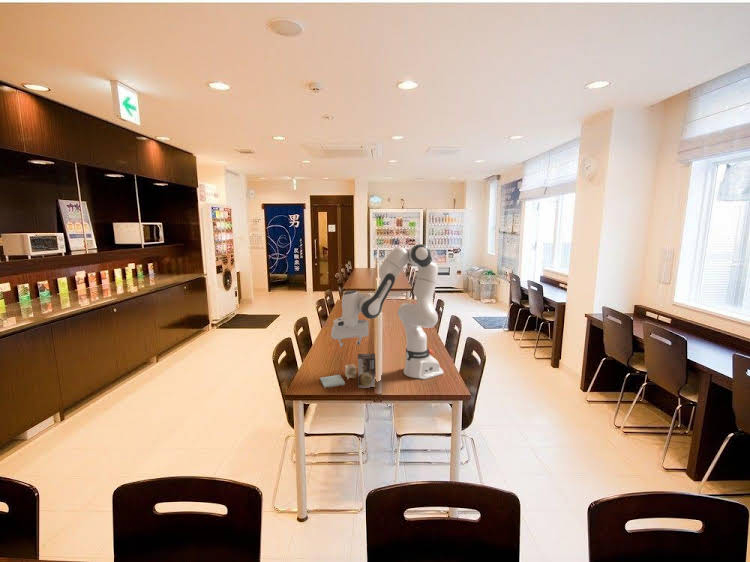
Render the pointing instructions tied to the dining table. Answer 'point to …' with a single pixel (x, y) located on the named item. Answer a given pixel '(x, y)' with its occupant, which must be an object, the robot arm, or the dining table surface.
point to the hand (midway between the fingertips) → (350, 345)
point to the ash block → (350, 371)
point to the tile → (332, 381)
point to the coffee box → (366, 370)
